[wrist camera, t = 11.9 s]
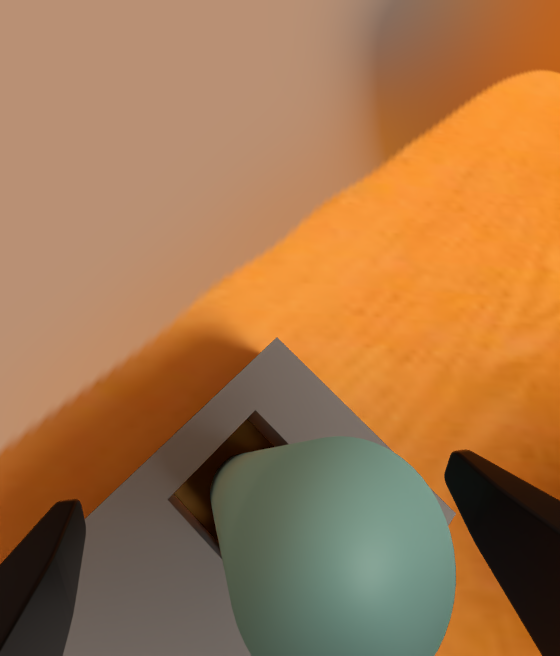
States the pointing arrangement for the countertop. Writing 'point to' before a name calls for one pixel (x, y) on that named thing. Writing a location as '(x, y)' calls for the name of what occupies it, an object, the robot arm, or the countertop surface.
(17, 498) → the countertop surface
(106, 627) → the socket plate
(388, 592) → the teal peg
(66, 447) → the countertop surface
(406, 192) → the countertop surface
